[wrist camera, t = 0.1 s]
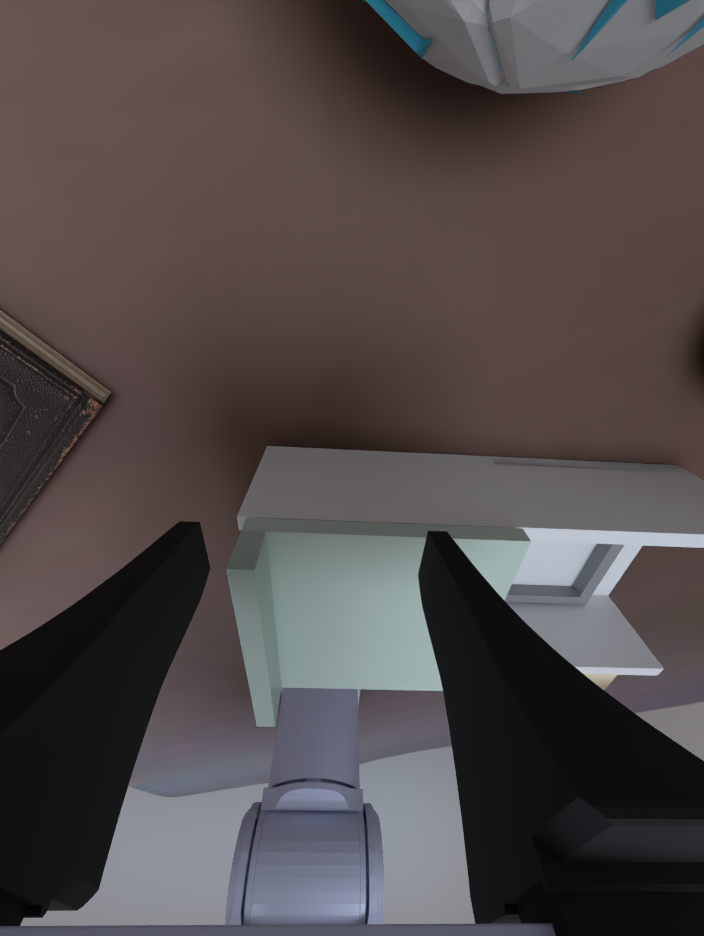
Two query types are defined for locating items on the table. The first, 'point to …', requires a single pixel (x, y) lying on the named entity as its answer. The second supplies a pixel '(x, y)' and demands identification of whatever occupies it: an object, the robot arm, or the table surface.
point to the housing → (510, 526)
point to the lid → (345, 603)
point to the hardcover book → (37, 416)
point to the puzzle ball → (546, 39)
